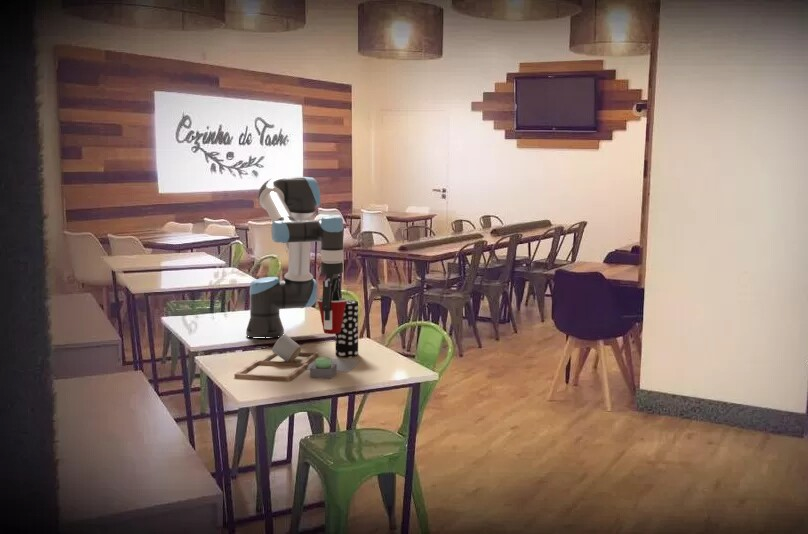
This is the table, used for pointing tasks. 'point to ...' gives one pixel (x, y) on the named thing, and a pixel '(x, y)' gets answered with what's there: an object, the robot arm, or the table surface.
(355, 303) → the white-spotted black cylinder
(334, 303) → the plastic cup
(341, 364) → the mat
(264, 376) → the wooden rectangular frame
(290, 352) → the ceramic mug
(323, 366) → the button
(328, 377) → the button base
